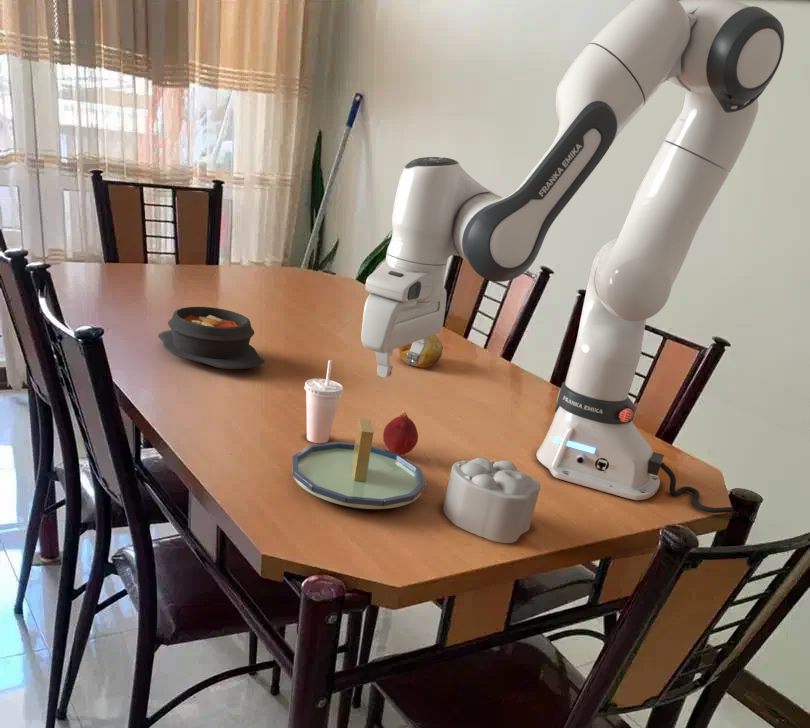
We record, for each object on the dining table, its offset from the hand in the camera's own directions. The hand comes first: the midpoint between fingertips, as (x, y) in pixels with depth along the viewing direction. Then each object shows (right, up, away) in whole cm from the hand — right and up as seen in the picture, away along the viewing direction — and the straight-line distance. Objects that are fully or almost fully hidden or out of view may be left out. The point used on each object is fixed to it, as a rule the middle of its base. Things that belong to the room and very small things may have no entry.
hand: (398, 370), depth 123 cm
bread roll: (+5, +15, +63) cm, 65 cm away
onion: (0, -12, +13) cm, 18 cm away
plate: (-6, -17, -1) cm, 18 cm away
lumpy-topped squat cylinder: (+13, -23, -2) cm, 27 cm away
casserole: (-39, +11, +42) cm, 58 cm away
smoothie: (-14, -9, +14) cm, 22 cm away
